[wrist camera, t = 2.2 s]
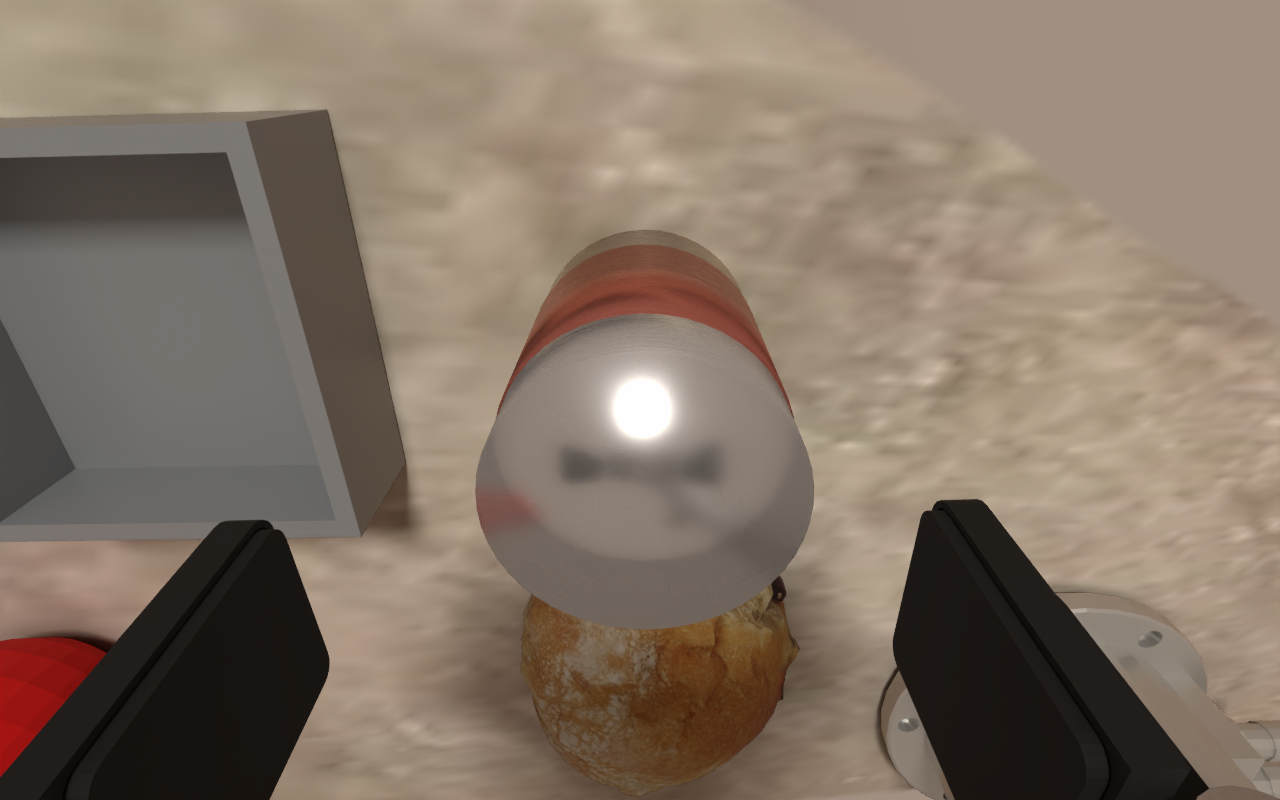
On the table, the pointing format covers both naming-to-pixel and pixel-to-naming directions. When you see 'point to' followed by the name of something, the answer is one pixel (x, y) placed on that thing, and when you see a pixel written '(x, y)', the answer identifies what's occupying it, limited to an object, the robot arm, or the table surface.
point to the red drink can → (645, 443)
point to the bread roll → (656, 689)
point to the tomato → (37, 686)
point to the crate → (185, 331)
